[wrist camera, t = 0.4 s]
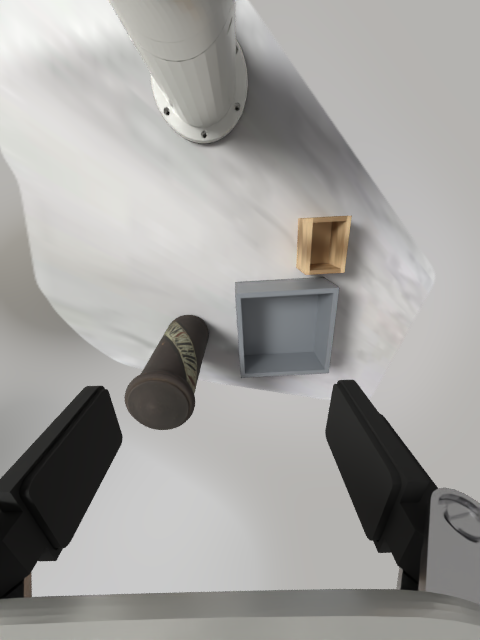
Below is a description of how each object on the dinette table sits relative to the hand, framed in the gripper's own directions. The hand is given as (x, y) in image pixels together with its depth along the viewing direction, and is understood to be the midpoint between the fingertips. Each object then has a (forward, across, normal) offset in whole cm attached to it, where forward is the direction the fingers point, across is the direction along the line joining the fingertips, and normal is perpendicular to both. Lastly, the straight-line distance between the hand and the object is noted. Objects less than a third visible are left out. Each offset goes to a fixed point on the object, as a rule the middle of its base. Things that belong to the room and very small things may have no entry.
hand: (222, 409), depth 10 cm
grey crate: (+34, -8, +10) cm, 36 cm away
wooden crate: (+34, -14, -4) cm, 37 cm away
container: (+34, +9, +13) cm, 38 cm away
